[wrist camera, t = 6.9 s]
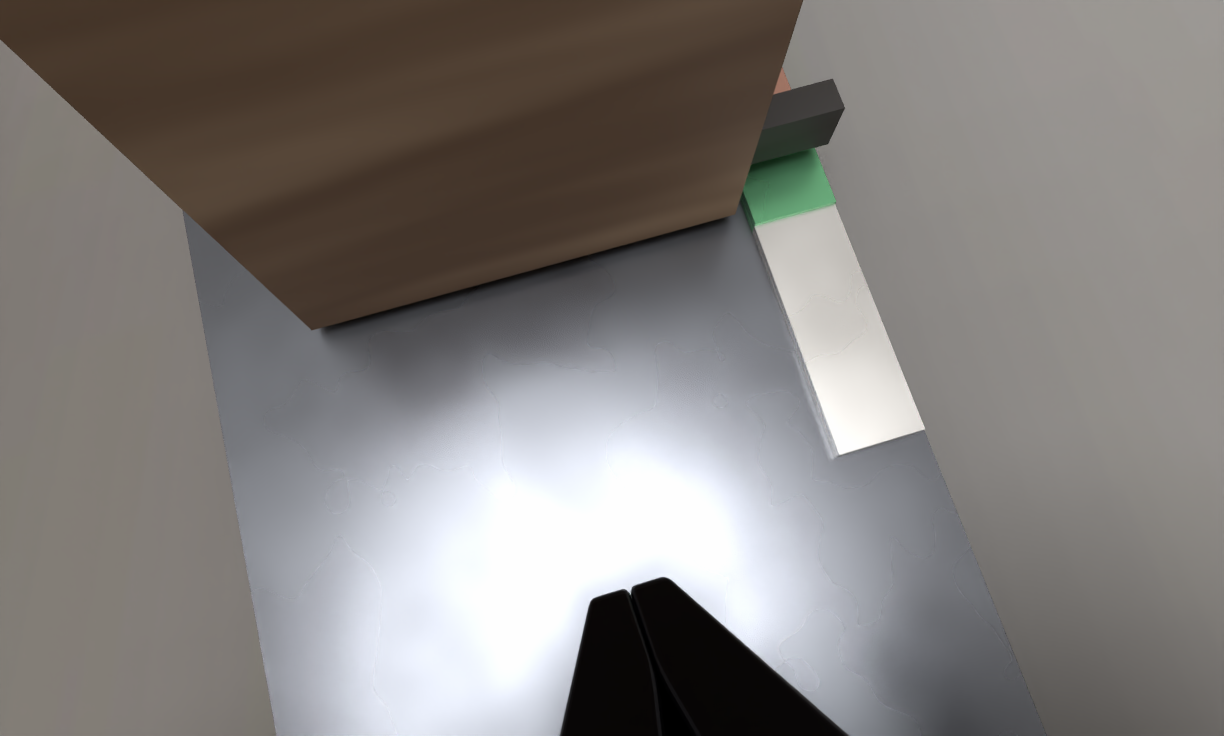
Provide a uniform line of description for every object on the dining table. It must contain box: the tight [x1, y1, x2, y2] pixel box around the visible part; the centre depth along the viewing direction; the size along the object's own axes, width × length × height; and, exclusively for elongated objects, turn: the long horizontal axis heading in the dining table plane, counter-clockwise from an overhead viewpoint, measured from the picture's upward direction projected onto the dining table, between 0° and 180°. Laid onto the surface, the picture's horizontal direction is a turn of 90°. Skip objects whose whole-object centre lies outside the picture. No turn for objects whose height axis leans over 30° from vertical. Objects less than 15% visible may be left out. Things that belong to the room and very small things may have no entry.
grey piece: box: [183, 68, 1047, 736], centre depth 12 cm, size 22×12×11 cm, turn 17°
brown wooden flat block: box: [0, 0, 845, 330], centre depth 11 cm, size 2×10×10 cm, turn 106°
